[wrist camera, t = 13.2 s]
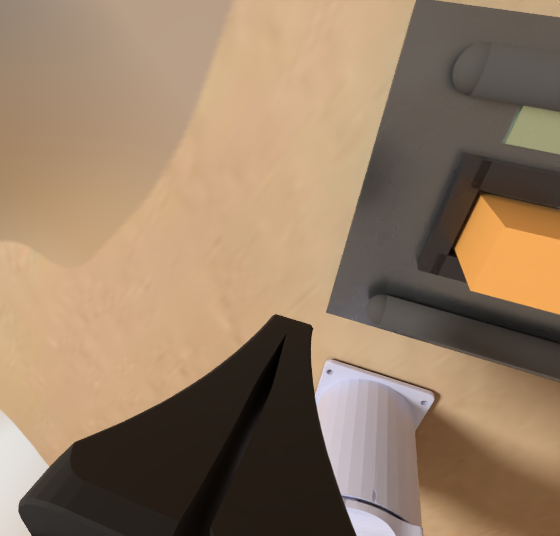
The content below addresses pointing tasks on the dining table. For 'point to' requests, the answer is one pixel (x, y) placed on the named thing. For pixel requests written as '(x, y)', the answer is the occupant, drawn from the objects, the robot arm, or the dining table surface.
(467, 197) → the plate
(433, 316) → the grey rails and frame
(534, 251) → the orange rectangular box
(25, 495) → the robot arm
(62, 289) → the dining table surface
